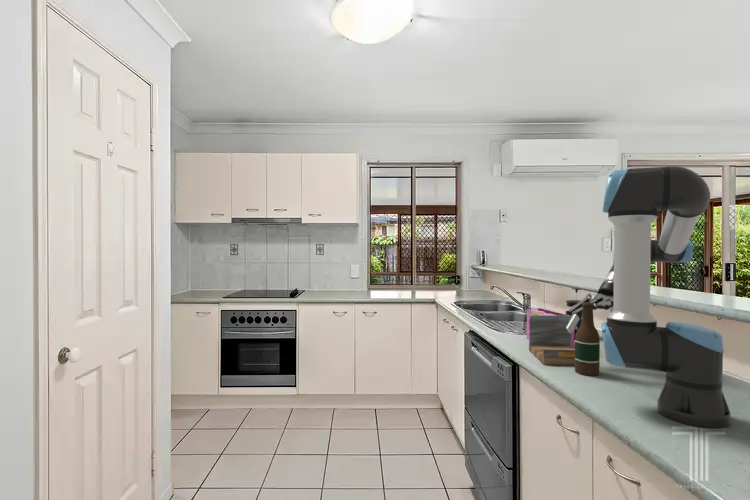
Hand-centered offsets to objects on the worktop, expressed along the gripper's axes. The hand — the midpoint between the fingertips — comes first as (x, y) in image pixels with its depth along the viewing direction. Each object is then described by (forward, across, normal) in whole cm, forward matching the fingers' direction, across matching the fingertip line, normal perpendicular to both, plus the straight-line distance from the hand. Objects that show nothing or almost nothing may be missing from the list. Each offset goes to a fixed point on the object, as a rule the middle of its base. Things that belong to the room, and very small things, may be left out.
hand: (586, 334), depth 145 cm
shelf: (+4, +17, -14) cm, 22 cm away
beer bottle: (+9, 0, -9) cm, 13 cm away
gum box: (-7, +33, -26) cm, 43 cm away
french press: (-20, +34, -39) cm, 56 cm away
